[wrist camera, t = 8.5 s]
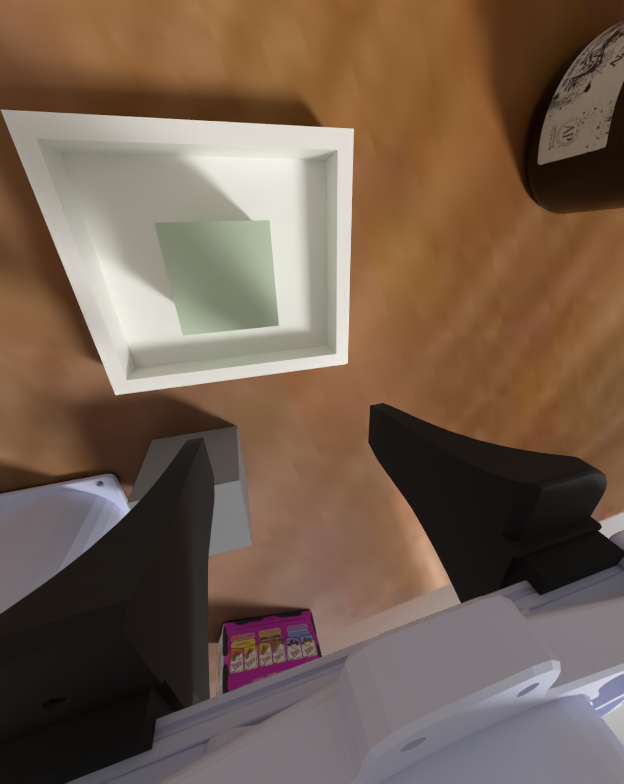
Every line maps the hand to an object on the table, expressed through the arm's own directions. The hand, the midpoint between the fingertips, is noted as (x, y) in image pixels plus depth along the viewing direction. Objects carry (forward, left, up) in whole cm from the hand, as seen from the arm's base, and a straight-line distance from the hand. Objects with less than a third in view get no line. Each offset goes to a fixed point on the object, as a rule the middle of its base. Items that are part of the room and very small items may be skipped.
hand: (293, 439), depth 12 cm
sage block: (-2, +6, -9) cm, 11 cm away
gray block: (-6, -8, -10) cm, 14 cm away
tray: (-2, +6, -9) cm, 11 cm away
